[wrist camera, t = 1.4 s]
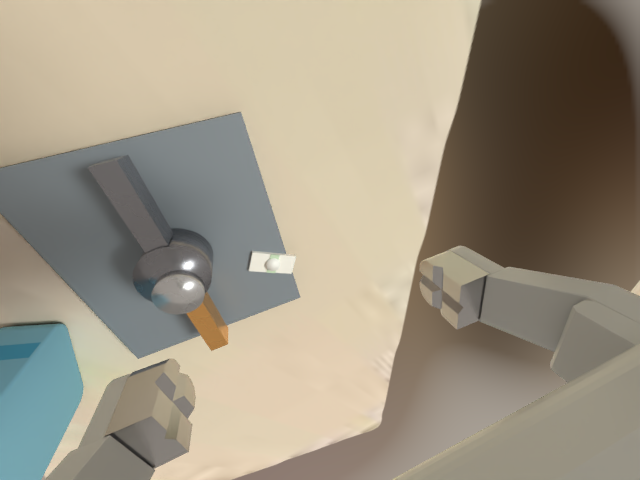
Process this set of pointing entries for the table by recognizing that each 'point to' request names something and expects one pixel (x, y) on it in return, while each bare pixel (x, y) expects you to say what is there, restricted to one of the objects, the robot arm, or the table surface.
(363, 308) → the table surface
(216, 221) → the stand
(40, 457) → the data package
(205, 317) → the bar with grey ball
